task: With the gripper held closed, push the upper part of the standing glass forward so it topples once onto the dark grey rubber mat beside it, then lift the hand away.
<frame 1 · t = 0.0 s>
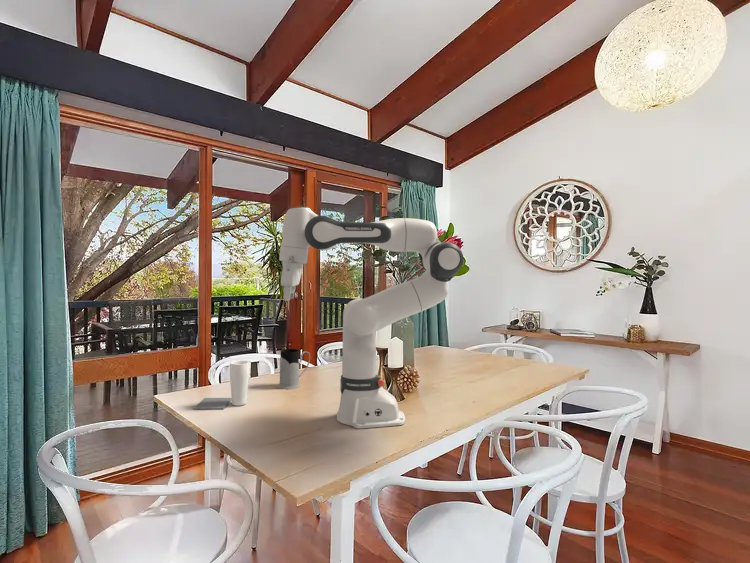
hand: (288, 299, 136), 39 cm above the table, tool pointing down, fingers open, 8 cm apart
drinking glass: (239, 404, 151), on the table
grey mug: (295, 385, 178), on the table
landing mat: (213, 404, 151), on the table
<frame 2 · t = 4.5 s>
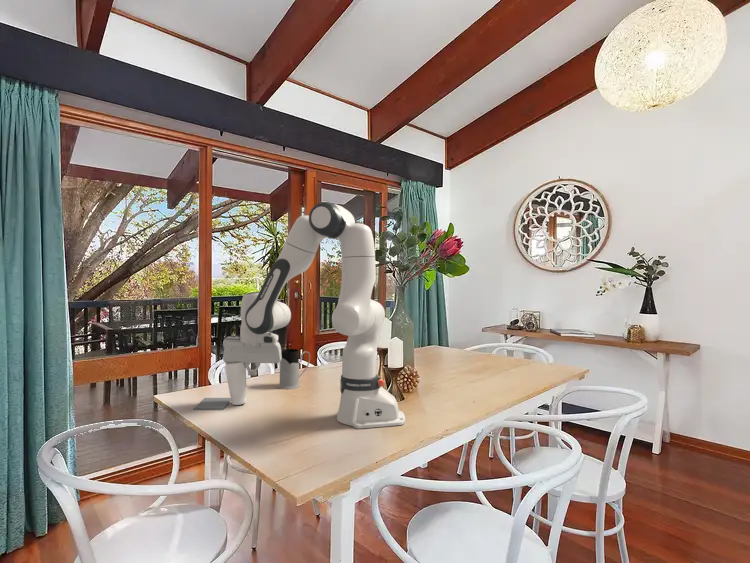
hand: (252, 375, 152), 10 cm above the table, tool pointing down, fingers closed
drinking glass: (239, 403, 151), on the table, touching gripper
everything else where it was.
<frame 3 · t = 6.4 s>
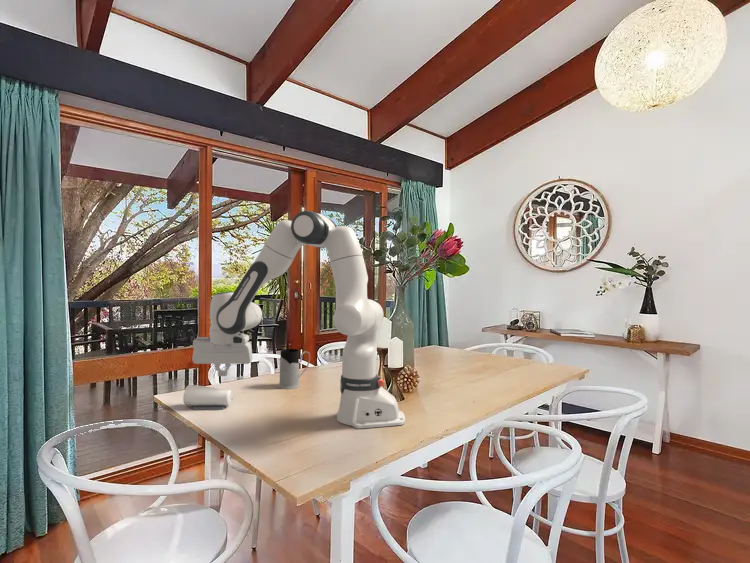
hand: (222, 375, 151), 10 cm above the table, tool pointing down, fingers closed
drinking glass: (230, 397, 148), point 3 cm above the table, touching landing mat
everything else where it was.
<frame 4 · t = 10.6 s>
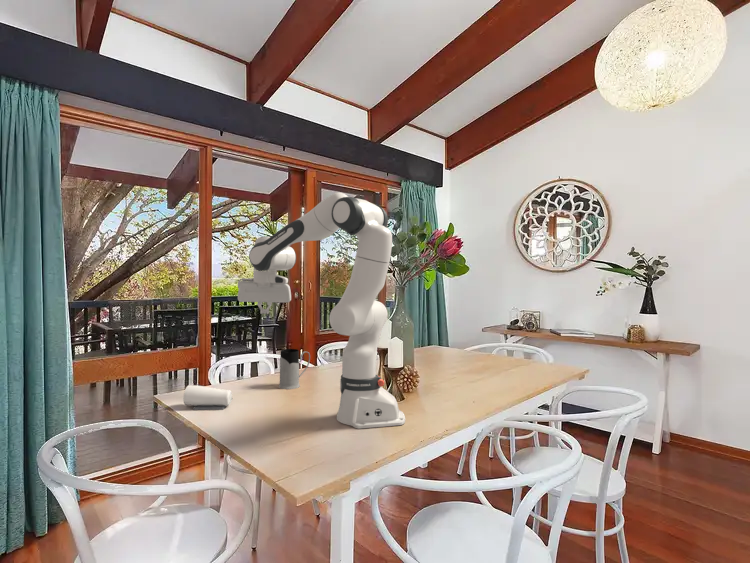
hand: (264, 313, 165), 31 cm above the table, tool pointing down, fingers closed
nothing on the table moved.
at the end: drinking glass tilted 86°; drinking glass inside the target area (5.3 cm from its centre), point 3.1 cm above the table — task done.
